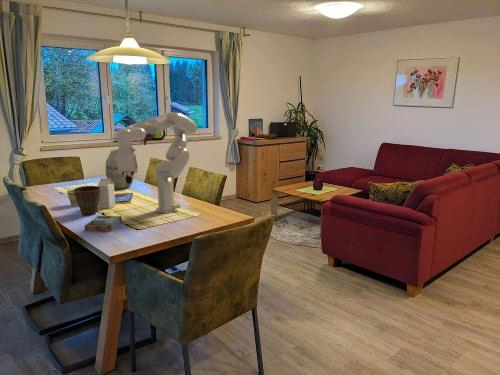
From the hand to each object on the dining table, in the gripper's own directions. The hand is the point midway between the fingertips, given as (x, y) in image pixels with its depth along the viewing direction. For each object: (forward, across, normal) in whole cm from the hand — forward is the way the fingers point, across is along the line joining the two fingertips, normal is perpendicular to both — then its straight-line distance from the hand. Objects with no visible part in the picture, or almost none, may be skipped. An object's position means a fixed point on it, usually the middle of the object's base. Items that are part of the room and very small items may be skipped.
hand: (129, 183), depth 224 cm
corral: (+21, +13, +11) cm, 27 cm away
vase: (+24, +32, -82) cm, 91 cm away
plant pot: (+22, +30, -12) cm, 39 cm away
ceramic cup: (+22, +44, -31) cm, 58 cm away
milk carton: (+23, +24, -27) cm, 43 cm away
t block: (+21, +12, +11) cm, 27 cm away
